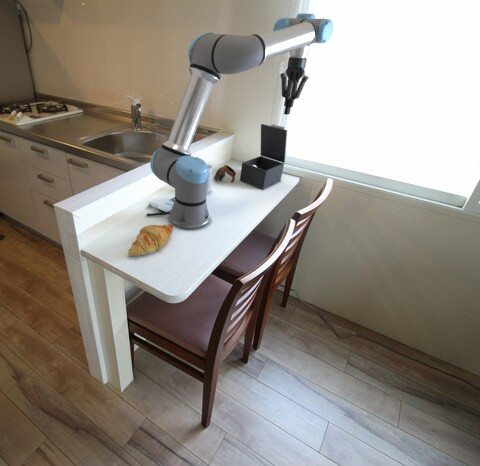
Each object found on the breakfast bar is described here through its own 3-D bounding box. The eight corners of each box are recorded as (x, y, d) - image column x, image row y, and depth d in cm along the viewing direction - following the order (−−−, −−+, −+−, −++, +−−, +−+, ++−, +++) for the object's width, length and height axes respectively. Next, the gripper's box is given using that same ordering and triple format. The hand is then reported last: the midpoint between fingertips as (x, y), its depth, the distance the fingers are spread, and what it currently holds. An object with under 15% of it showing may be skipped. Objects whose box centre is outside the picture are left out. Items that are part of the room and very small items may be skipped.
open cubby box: (262, 189, 150) (266, 171, 145) (239, 180, 158) (242, 162, 153) (280, 181, 160) (284, 163, 155) (257, 173, 168) (260, 155, 163)
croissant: (136, 270, 102) (144, 257, 96) (115, 248, 103) (122, 234, 98) (177, 240, 116) (185, 227, 111) (157, 221, 118) (165, 207, 112)
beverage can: (197, 187, 149) (199, 163, 142) (211, 189, 148) (213, 164, 142) (195, 193, 144) (197, 168, 137) (210, 195, 143) (212, 169, 136)
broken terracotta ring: (216, 175, 164) (226, 162, 160) (230, 187, 162) (240, 175, 158) (207, 177, 153) (217, 163, 149) (221, 190, 152) (232, 176, 148)
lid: (286, 130, 143) (292, 126, 146) (260, 124, 151) (267, 120, 154) (284, 163, 155) (289, 158, 157) (260, 155, 162) (266, 150, 165)
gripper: (316, 58, 137) (303, 115, 149) (289, 55, 144) (278, 110, 157) (307, 58, 132) (295, 117, 145) (280, 55, 139) (270, 112, 152)
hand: (286, 113), depth 151 cm, fingers closed
